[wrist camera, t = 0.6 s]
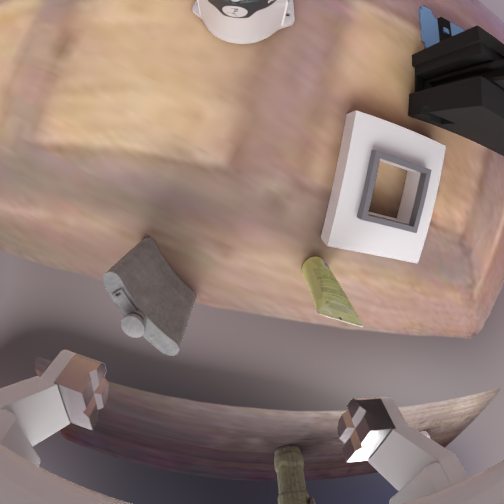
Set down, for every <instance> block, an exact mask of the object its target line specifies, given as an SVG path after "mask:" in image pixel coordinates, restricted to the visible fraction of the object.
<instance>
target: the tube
mask: <svg viewBox="0 0 504 504" xmlns="http://www.w3.org/2000/svg"><path fill="white" fill-rule="evenodd" d="M302 272H303V275H304V278H305V280H306V282H307V285H308V287H309V290H310V292H311V295H312V298H313V301H314V303H315V306H316V309H317V313H318V314H319V315H323V316H326V317H330V318H333V319H336V320H340V321H343V322H346V323H350V324H353V325H356V326H360V327H364V326H363V325H362V323H361V321H360V319H359V317H358V315H357V314H356V312H355V310H354V308H353V307H352V305H351V303H350V302H349V300H348V298H347V296H346V295H345V293H344V291H343V290H342V288H341V286H340V285H339V283H338V281H337V280H336V278H335V276H334V275H333V273H332V272H331V270H330V268H329V267H328V265H327V264H326V262H325V261H324V260H323V259H322V258H320V257H310V258H308V259H307V260H306V261H305V262H304V264H303V266H302Z"/></svg>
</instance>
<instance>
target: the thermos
mask: <svg viewBox="0 0 504 504" xmlns="http://www.w3.org/2000/svg"><path fill="white" fill-rule="evenodd" d="M274 456H275V458H274V465H275V471H276V473H277V478H278V488H279V496H278V504H315V501H314V498H309V494H308V493H307V492H306V487H305V480H304V473H303V467H304V462H303V457H302V454H301V449H300V448H299V447H297V446H292V445H289V446H283V447H280V448H278V449H276V450H275V452H274Z"/></svg>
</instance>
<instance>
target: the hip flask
mask: <svg viewBox="0 0 504 504" xmlns="http://www.w3.org/2000/svg"><path fill="white" fill-rule="evenodd" d="M103 284H104V286H105V288H106V290H107V292H108V293H109V295H110V296H111V298H112V300H113V301H114V302H115V304H116V305H117V307H118V308H119V309H120V311H121V312H122V313H123V314H124V317H123V319H122V321H121V328H122V329H123V331H124V332H125V333H126V334H127V335H128V336H130V337H133V338H138V337H141V336H143V337H144V338H146V339H147V340H148V341H149V342H150V343H151V344H152V345H153V346H155V347H156V348H157V349H158V350H160V351H161V352H162V353H164V354H166V355H169V356H173V355H176V354H177V353H178V352H179V349H180V346H181V342H182V339H183V336H184V333H185V330H186V327H187V323H188V320H189V317H190V314H191V311H192V308H193V305H194V302H195V299H196V294H195V292H194V291H193V290H192V289H191V288H189V287H188V286H187V285H186V284H185V283H184V282H183V281H182V280H181V279H180V278H179V277H178V275H177V274H176V273H175V272H174V271H173V269H172V268H171V267H170V265H169V264H168V263H167V261H166V260H165V258H164V257H163V255H162V254H161V252H160V250H159V248H158V246H157V244H156V242H155V241H154V239H152V238H150V237H146V238H144V239H143V240H142V241H141V242H140V243H138V244H137V245H136V246H135V247H134V248H133V249H132V250H130V251H129V252H128V253H127V254H126V255H125V256H124V257H123V258H122V259H120V260H119V261H118V262H117V263H116V264H115V265H114V266H113V267H112V268H111V269H110V270H109V271H107V272H106V273H105V274H104V276H103Z"/></svg>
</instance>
